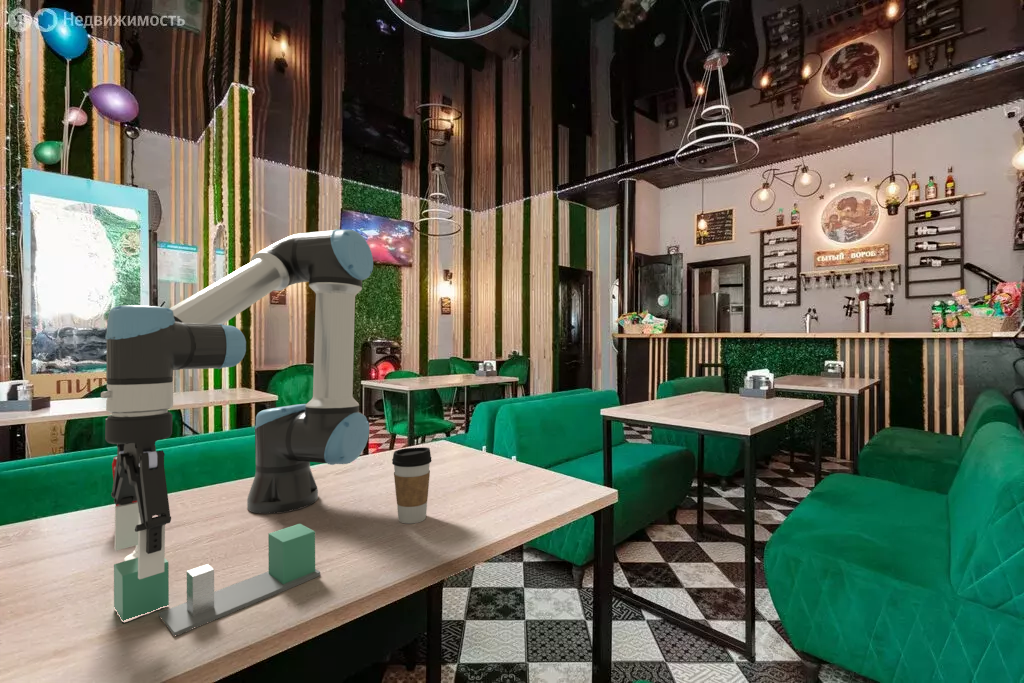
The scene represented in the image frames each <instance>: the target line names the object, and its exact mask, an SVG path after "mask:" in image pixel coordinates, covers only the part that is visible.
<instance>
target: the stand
mask: <svg viewBox="0 0 1024 683" xmlns="http://www.w3.org/2000/svg"><path fill="white" fill-rule="evenodd" d="M320 576H321V571H320V570H318V569H316V531H315V530H313V529H311V528H309V527H307V526H305V525H304V524H302V523H297V524H295V525H291V526H288V527H285V528H282V529H279V530H276V531H272V532H269V533H268V571H265V572H263V573H260V574H257V575H255V576H252V577H249V578H247V579H243V580H242V581H238V582H236V583H234V584H230V585H228V586H226V587H223V588H220V589H218V590H216V591H215V590H214V608H213V609H210V610H208V611H205V612H203V613H200V614H198V615H195V616H192V615H191V614H190V612H189V611H188V610H187V601H185V602H183V603H181V604H178V605H176V606H172V607H170V608H166V609H164V610H162V611H160V612H159V611H158V617H159V616H160V617H161V618H162V620H163V621H164V622H165V624H166V625H167V626H168V628H169V629H170V630H169V629H168V628H167V629H168V630H169V632H170V631H171V632H172V633H171V632H170V633H171V634H172V636H173V635H174V636H175V635H178V634H181V635H183V634H184V633H183V632H185V633H187V632H186V631H188V632H190V631H191V630H190V629H192V628H194V627H197V626H200V625H202V624H204V625H206V624H205V623H207V622H209V623H211V622H214V621H216V620H218V618H219V619H221V618H224V617H226V616H228V615H230V614H232V612H233V613H236V612H237V610H238V611H240V610H242V609H244V607H245V608H246V607H249V606H251V605H254V604H257V603H259V602H260V601H263V600H265V599H268V598H270V597H273V596H275V595H278V594H281V593H283V592H286V591H288V590H290V589H292V588H294V587H297V586H298V585H301V584H304V583H306V582H308V581H311V580H313V579H316V578H317V577H320ZM239 609H240V610H239ZM229 613H230V614H229ZM227 614H228V615H227ZM160 617H159V618H160ZM215 619H216V620H215ZM162 620H161V621H162ZM213 620H214V621H213ZM163 621H162V622H163ZM210 621H211V622H210ZM165 624H164V625H165ZM207 624H208V623H207ZM166 625H165V626H166ZM202 626H203V625H202ZM200 627H201V626H200ZM197 628H198V627H197ZM189 630H190V631H189ZM192 630H193V629H192ZM182 633H183V634H182ZM174 636H173V637H174ZM178 636H179V635H178Z"/></svg>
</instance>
